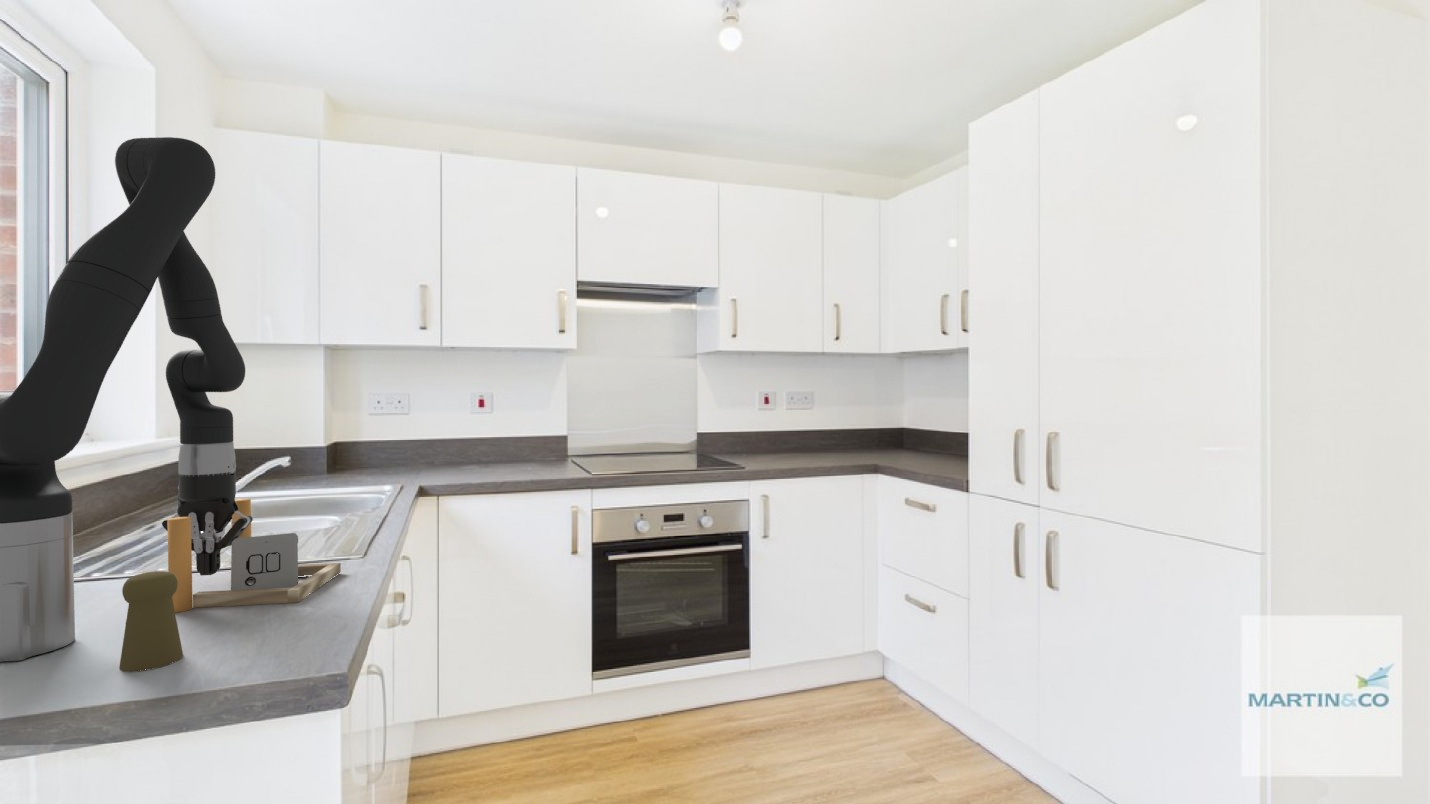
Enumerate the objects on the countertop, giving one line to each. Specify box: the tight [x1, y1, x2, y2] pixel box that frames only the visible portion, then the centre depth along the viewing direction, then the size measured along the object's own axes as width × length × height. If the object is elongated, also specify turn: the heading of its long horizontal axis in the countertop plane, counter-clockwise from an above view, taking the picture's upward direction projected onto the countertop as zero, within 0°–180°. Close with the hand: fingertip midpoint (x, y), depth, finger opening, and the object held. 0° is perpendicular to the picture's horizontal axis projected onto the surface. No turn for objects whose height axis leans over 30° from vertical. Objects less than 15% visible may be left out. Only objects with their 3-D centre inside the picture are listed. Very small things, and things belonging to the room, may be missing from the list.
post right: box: [231, 498, 252, 538], centre depth 118 cm, size 3×3×14 cm
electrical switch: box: [230, 532, 299, 590], centre depth 112 cm, size 9×5×9 cm, turn 121°
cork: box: [118, 570, 184, 673], centre depth 82 cm, size 6×6×11 cm
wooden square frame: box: [192, 562, 342, 608], centre depth 112 cm, size 16×15×2 cm
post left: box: [166, 517, 194, 614], centre depth 101 cm, size 3×3×14 cm
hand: (208, 574), depth 110 cm, fingers closed
